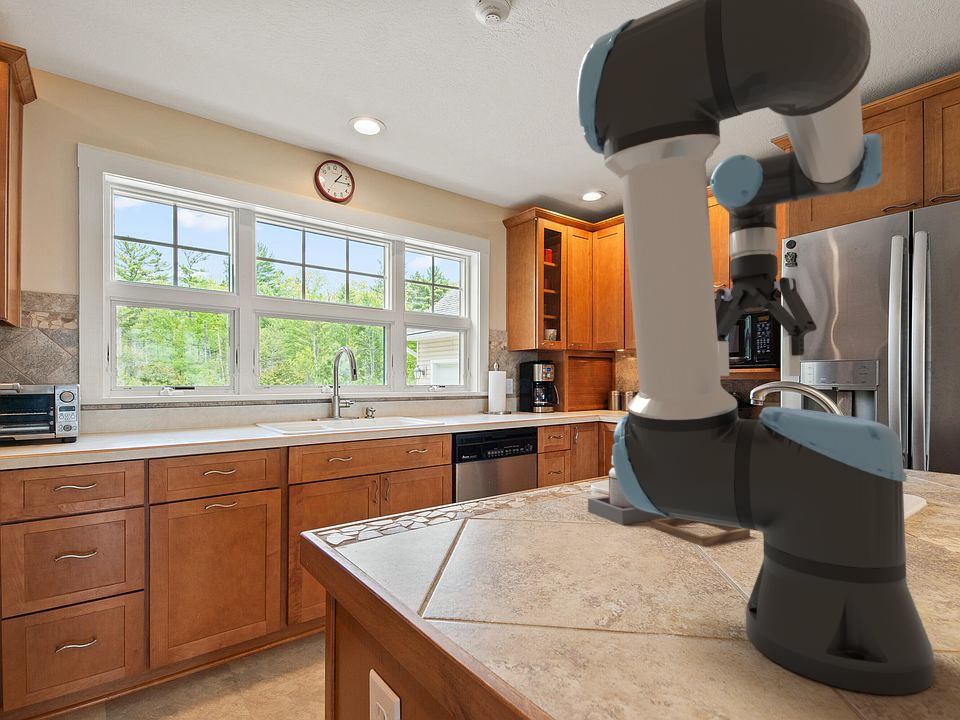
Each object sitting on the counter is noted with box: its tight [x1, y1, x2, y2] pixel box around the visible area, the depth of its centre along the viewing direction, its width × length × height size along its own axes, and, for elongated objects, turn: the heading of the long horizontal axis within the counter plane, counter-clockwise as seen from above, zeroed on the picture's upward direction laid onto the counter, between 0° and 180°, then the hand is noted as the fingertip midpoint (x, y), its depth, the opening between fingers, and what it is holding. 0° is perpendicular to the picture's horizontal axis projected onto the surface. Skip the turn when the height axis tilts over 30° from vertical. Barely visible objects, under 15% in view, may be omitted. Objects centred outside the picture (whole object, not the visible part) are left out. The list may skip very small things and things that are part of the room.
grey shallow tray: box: [587, 495, 667, 525], centre depth 102 cm, size 20×10×2 cm, turn 115°
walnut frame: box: [650, 517, 751, 547], centre depth 89 cm, size 11×11×1 cm
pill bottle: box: [608, 454, 635, 509], centre depth 100 cm, size 6×6×11 cm
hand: (755, 376), depth 92 cm, fingers open, 13 cm apart
